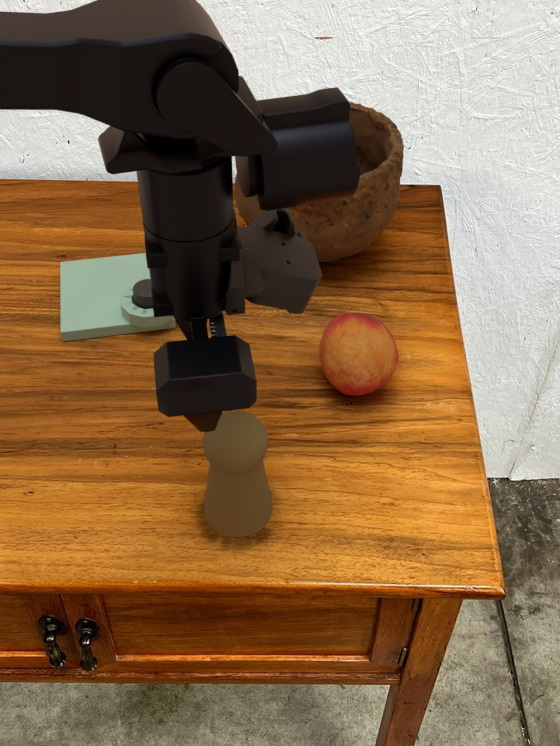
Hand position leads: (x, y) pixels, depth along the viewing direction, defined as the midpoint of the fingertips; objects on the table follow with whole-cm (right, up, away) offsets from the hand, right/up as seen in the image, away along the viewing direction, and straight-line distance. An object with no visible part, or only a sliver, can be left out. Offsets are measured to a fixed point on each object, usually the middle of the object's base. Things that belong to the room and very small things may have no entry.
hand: (201, 384), depth 60 cm
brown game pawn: (+2, -11, +8) cm, 14 cm away
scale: (-12, +9, +27) cm, 31 cm away
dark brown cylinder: (-8, +9, +23) cm, 26 cm away
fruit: (+14, 0, +19) cm, 23 cm away
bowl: (+10, +16, +35) cm, 40 cm away
